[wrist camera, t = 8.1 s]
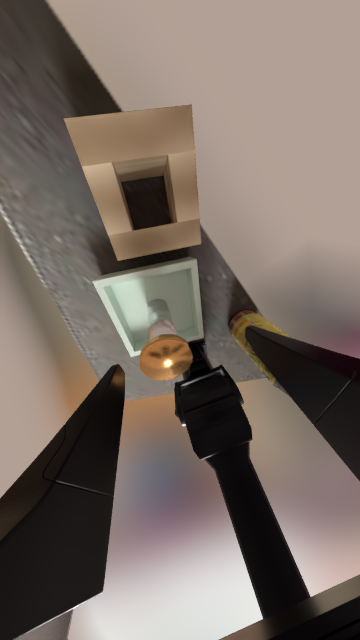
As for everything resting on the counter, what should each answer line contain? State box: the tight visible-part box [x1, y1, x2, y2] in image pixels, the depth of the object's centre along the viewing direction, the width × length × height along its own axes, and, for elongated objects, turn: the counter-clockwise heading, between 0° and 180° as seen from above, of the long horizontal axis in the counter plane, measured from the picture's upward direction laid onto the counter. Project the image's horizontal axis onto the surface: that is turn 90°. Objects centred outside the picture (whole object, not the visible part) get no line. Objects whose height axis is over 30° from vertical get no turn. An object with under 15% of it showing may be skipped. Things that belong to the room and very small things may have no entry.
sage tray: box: [92, 257, 204, 357], centre depth 20 cm, size 12×12×4 cm
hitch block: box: [64, 105, 201, 261], centre depth 13 cm, size 9×9×4 cm
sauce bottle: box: [229, 310, 291, 395], centre depth 18 cm, size 6×6×20 cm
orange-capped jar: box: [140, 299, 193, 380], centre depth 16 cm, size 4×4×11 cm
